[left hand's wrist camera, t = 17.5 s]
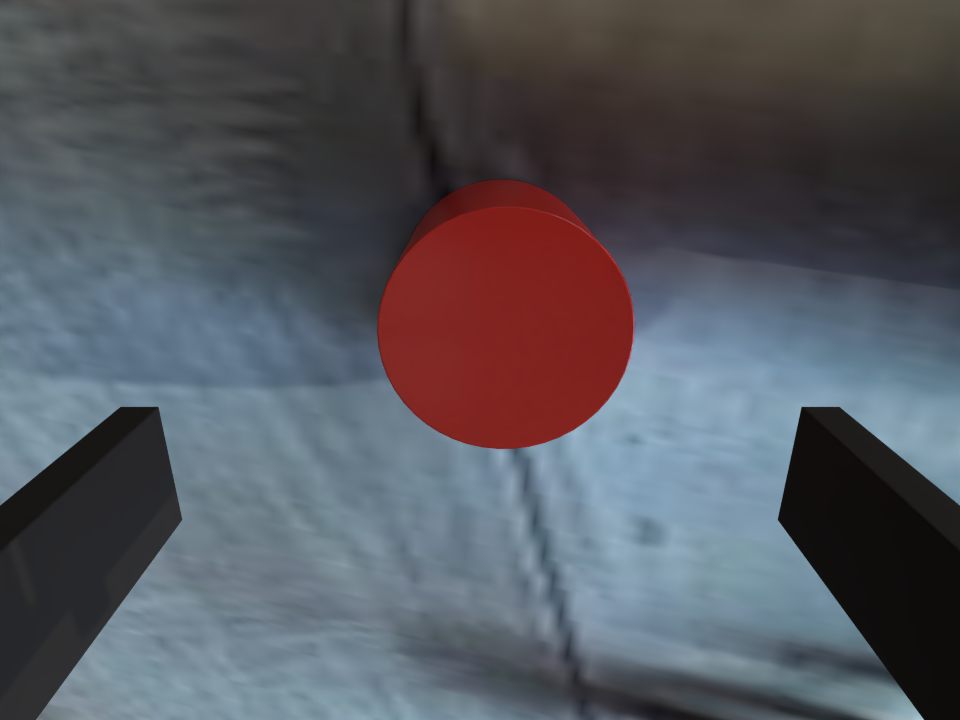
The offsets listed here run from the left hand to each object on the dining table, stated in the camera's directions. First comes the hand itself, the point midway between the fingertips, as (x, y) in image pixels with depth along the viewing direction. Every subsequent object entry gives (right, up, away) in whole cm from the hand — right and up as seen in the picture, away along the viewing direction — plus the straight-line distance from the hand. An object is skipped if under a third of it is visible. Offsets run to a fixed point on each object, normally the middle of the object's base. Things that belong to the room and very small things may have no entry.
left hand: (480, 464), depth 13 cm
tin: (+1, +6, +16) cm, 18 cm away
